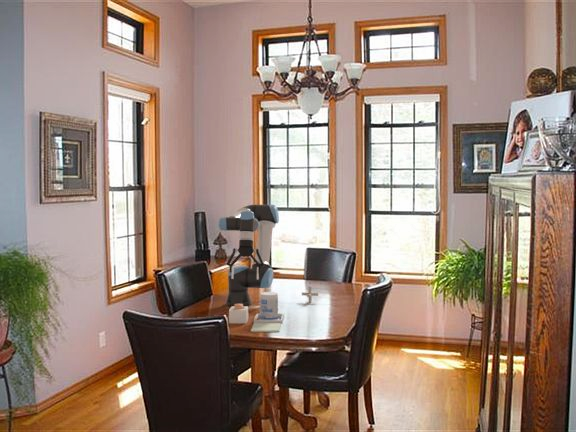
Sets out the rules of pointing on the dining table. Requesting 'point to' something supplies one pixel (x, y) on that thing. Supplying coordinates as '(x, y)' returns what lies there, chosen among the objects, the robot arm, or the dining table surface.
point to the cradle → (269, 320)
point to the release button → (238, 306)
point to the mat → (266, 327)
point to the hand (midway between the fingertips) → (244, 279)
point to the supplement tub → (269, 306)
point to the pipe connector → (310, 294)
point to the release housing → (238, 315)
